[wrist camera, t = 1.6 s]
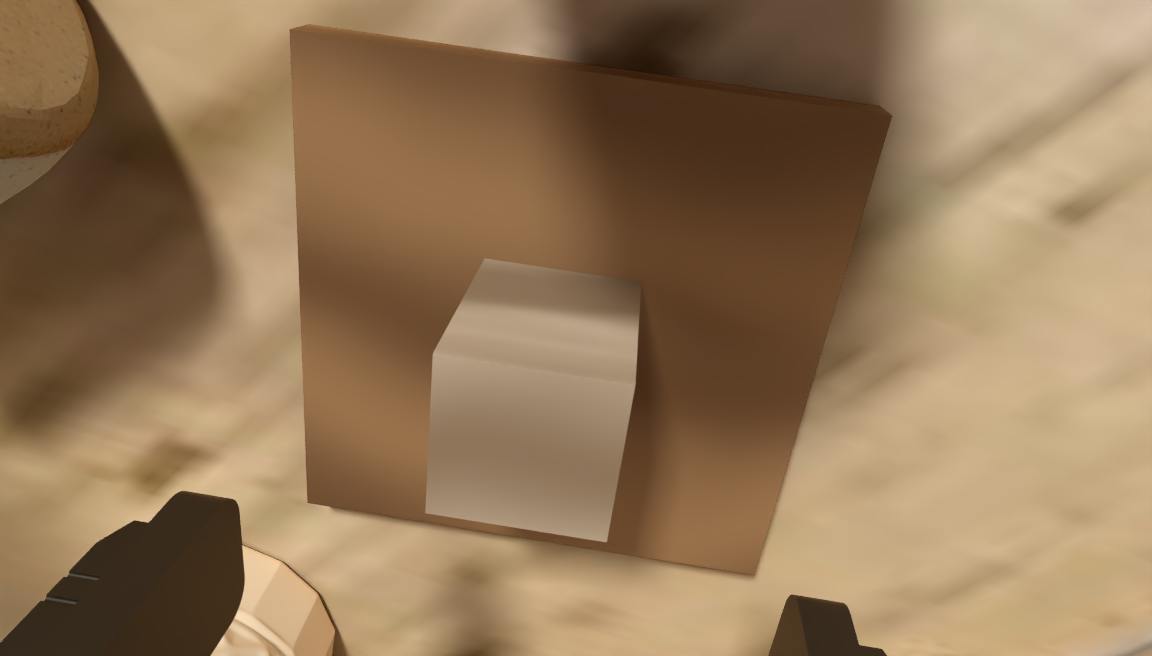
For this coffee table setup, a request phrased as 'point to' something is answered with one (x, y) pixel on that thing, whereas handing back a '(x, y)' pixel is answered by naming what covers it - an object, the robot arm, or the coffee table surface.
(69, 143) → the ceramic mug
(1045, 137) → the coffee table surface
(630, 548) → the walnut lid
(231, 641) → the white cup
